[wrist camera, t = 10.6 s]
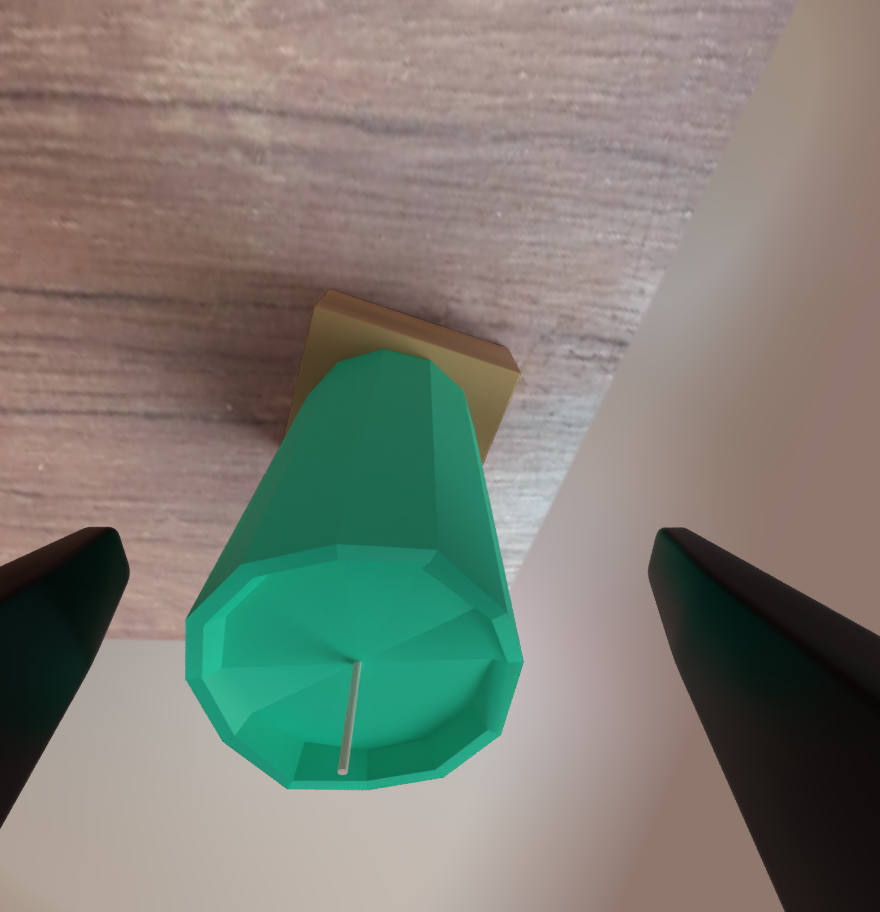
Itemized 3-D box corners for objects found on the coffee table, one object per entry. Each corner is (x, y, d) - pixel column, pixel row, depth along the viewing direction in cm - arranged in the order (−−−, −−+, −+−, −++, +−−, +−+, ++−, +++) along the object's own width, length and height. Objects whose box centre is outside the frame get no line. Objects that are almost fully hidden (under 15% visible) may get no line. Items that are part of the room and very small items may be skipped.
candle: (423, 530, 20) (425, 909, 10) (275, 464, 19) (84, 825, 8) (507, 400, 18) (629, 711, 7) (345, 314, 17) (208, 547, 6)
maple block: (448, 497, 23) (452, 538, 21) (289, 453, 22) (271, 490, 19) (509, 348, 20) (522, 373, 18) (329, 288, 19) (314, 305, 17)
